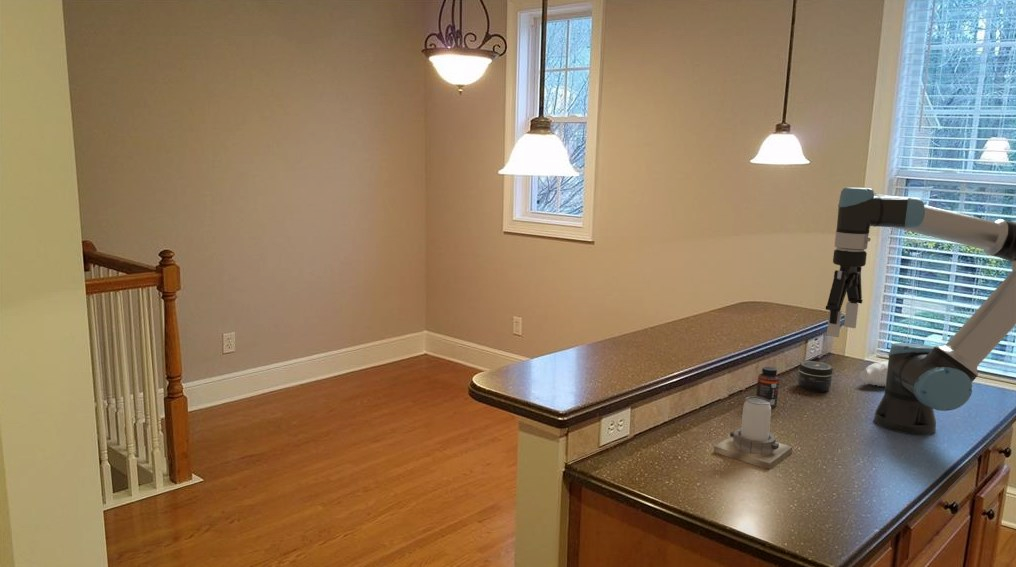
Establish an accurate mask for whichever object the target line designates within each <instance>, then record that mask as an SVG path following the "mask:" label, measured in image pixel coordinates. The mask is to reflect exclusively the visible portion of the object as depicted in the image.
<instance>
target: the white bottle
mask: <svg viewBox="0 0 1016 567" xmlns="http://www.w3.org/2000/svg"><path fill="white" fill-rule="evenodd" d="M888 361H889V360H885V361H877V362H873V363H872V364H869V365H868V366H867V367H866V368H865V369H863V370H861V371H859V372H858V373H859V378H860V380H862V381H863V382H864V385H868V384H869V385H872V386H875V385H877V386H876V387H879V386H882V387H885V385H886V377H887V369H888Z"/></svg>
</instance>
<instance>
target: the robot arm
mask: <svg viewBox="0 0 1016 567" xmlns="http://www.w3.org/2000/svg"><path fill="white" fill-rule="evenodd" d="M837 207H838V210H837V221H836V222H837V223H836V231H835V238H834V247H835V249H834V250H833V256H832V257H833V258H832V264H834V265H836V266H837V265H838V266H839V270H834V272H833V280H832V285H831V288H830V293H829V296H828V300H827V303H826V305H825V310H826V311H828V318H827V320H828V322H827V328H826V329H827V330H826V336H829V337H835V338H840V329H841V321H842V312H843V311H842V306H843V303H844V300H845V297H846V295H847V302H846V306H845V315H844V325H843V327H844V328H849V329H850V328H851V329H857V328H856V327H857V318H858V311H859V310H858V309H859V304H863V299H862V298H863V296H862V293H863V292H862V267H865V265H867V262H866V261H867V254H868V253H867V251H865V250H867V249H868V242H871V237H869V234H870V229H871V227H884V228H894V229H898V230H899V229H900V230H904V231H908V232H910V233H916V234H919V235H923V236H928V237H932V238H936V239H940V240H943V241H948V242H950V243H951V242H952V243H954V244H955V243H956V244H961V245H965V246H968V247H972V248H976V249H981V250H983V252H984V253H985V254H986V255H988V256H993V257H995V258H996V257H997V258H999V259H1002V260H1005V261H1008V262H1010V263H1011V264H1010V265H1011V270H1012V271H1011V272H1010V273H1009V274H1008V275H1007V276H1006V277H1005V278H1004V280H1003V281H1002V282H1001V283H1000V284H999V285H998V286H997V287H996V289H994V291H992V293H991V294H990V295H989V296H988V297H987V299H986V300H985V301H984V302H983V303H982V304H981V305H980V306H979V307H978V308H977V310H975V311H974V313H973V314H972V315H971V316H970V317H969V319H967V321H966V322H964V324H963V325H962V326H961V327H960V329H958V330H957V332H956V333H955V334H954V335H953V336H952V337H951V338H950V339H949V340H948V342H946V343H945V344H941V345H936V346H934V345H928V344H921V343H909V342H896V343H894V344H892V345H891V347H890V349H889V353H888V360H887V361H888V369H887V377H886V385H885V386H884V394H883V396H882V398H881V400H880V402H879V404H878V405H877V407H876V409H875V411H874V418H873V421H874V422H875V423H876V424H878V425H879V426H880V427H883V428H886V429H888V430H891V431H895V432H898V433H899V432H900V433H903V434H908V435H921V436H924V435H931V434H933V433H935V432H936V429H937V428H936V427H937V420H936V416H935V411H939V412H940V411H941V412H947V411H948V412H949V411H954V410H957V409H958V408H961V407H962V406H964V405H965V404H966V403H967V402H968V401H969V400H970V398H971V397H972V393H973V390H972V388H973V384H972V383H973V382H974V381H975V380H976V379H977V377H978V376H979V373H978V366H979V365H980V364H981V363H982V362H983V361H984V360H985V359H986V358H987V357H988V355H989V354H990V353H991V352H992V351H993V350H994V349H995V348H996V347H997V346H998V345H999V343H1000V342H1001V341H1002V340H1003V339H1004V338H1005V337H1006V336H1007V335H1008V334H1009V333H1010V332H1011V331H1012V330H1013V329H1014V328H1015V326H1016V221H1010V220H1005V219H1001V218H1000V219H997V220H995V221H993V220H989V219H984V218H980V217H976V216H972V215H968V214H964V213H959V212H956V211H951V210H947V209H942V208H938V207H934V206H930V205H925V203H924V201H923V200H922V199H921V198H919V197H910V196H896V195H894V196H893V195H886V194H879V193H875V192H874V189H873V188H870V187H852V186H850V187H844V188H842V190H841V191H840V195H839V202H838V205H837ZM934 410H935V411H934Z"/></svg>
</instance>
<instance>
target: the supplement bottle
mask: <svg viewBox="0 0 1016 567" xmlns="http://www.w3.org/2000/svg"><path fill="white" fill-rule="evenodd" d="M777 370H778V369H777V368H776V367H773V366H763V367H762V369H761V372H762V373H760V374H759V375H758V377H757V386H756V395H755V397H762V398H765V399H768V400H769V401H770V406H771V409H773V408H776V407H777V406H778V398H779V397H778V396H779V387H780V377H779V376H778V375H777V373H778V371H777Z"/></svg>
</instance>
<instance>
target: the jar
mask: <svg viewBox="0 0 1016 567" xmlns="http://www.w3.org/2000/svg"><path fill="white" fill-rule="evenodd" d="M833 371H834V370H833V366H832V365H830V364H827V363H825V362H820V361H814V360H806V361H805V360H804V361H801V362H799V365H798V374H797V384H798V386H799V388H800V389H802V390H805V391H808V392H813V393H826V392H828V391H829V390H830V388H831V386H832V378H833Z"/></svg>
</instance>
